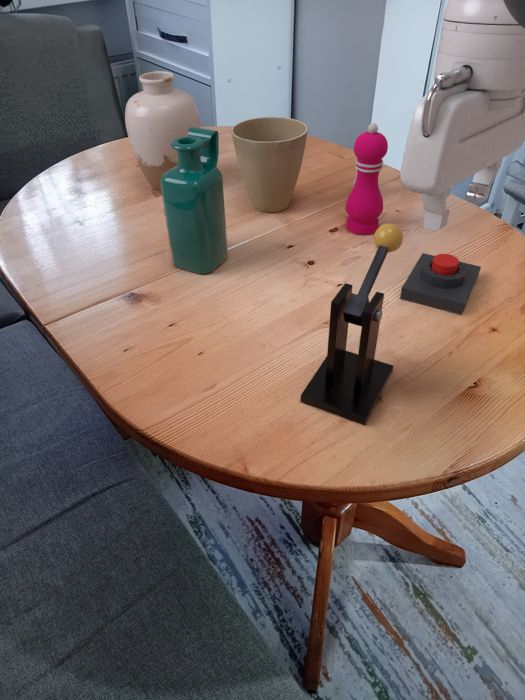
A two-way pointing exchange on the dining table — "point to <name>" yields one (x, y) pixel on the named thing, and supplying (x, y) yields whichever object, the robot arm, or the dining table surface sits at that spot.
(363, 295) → the lever
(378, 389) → the stand
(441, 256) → the bell button
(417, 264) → the block
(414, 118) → the robot arm
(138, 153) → the vase
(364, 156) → the pepper mill
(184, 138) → the pitcher
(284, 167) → the plant pot
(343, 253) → the dining table surface
